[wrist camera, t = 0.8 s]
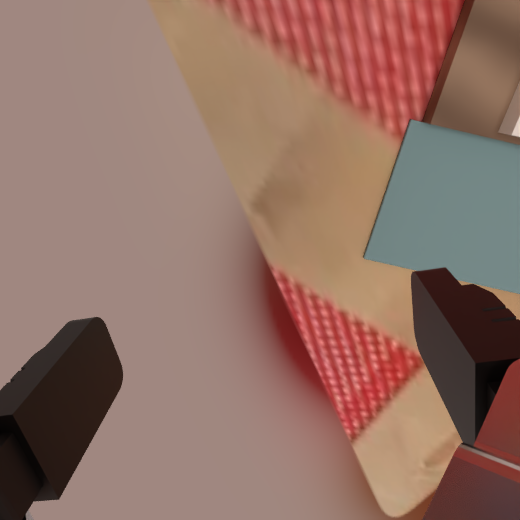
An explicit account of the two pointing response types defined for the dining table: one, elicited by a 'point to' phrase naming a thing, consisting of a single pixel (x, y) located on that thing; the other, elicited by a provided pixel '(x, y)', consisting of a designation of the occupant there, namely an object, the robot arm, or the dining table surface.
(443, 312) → the robot arm
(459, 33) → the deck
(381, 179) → the dining table surface
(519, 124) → the tile
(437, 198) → the mat
